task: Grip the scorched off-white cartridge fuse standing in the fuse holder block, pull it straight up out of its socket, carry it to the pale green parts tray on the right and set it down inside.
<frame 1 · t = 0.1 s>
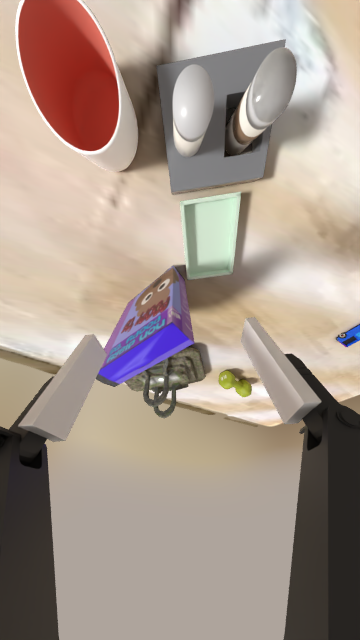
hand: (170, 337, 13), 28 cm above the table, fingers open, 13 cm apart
fuse holder block: (212, 140, 24), on the table
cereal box: (155, 291, 40), on the table
metal base with loops: (162, 365, 62), on the table
toy car: (353, 329, 52), on the table
blown fuse: (236, 136, 24), resting in fuse holder block
dumbbell: (232, 376, 68), on the table
cup: (109, 130, 23), on the table
parts tray: (207, 240, 33), on the table
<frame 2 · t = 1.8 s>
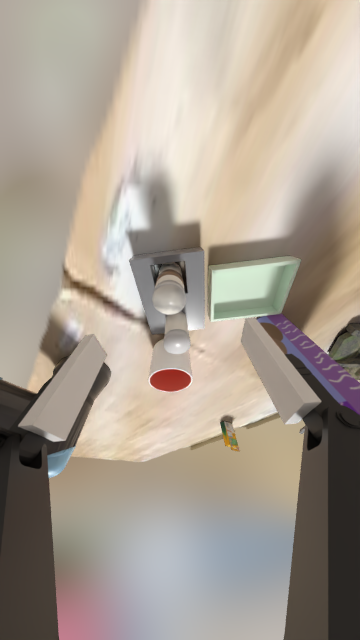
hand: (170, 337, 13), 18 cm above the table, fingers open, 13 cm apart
fuse holder block: (173, 292, 30), on the table
crayon box: (225, 422, 77), on the table
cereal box: (274, 333, 39), on the table
blown fuse: (170, 273, 27), resting in fuse holder block
cup: (171, 347, 40), on the table
parts tray: (243, 288, 30), on the table
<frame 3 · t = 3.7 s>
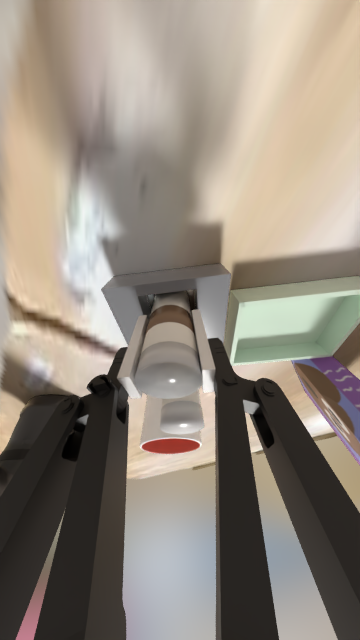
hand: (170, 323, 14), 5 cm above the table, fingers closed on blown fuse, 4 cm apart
fuse holder block: (175, 325, 20), on the table
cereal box: (309, 370, 29), on the table
blown fuse: (171, 301, 18), resting in fuse holder block, touching gripper
cup: (172, 385, 31), on the table
parts tray: (278, 319, 20), on the table
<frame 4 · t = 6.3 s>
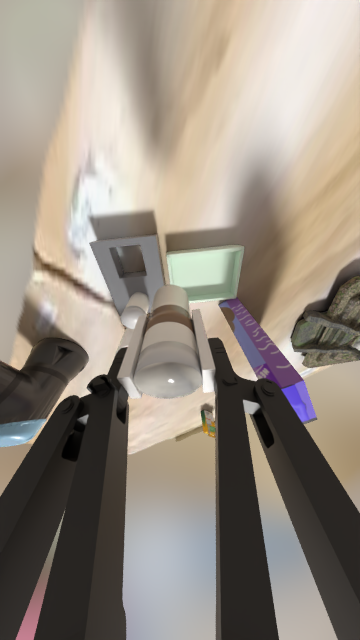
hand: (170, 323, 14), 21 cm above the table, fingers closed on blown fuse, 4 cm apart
fuse holder block: (138, 276, 33), on the table
crayon box: (206, 411, 81), on the table
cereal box: (238, 320, 42), on the table
metal base with loops: (346, 320, 44), on the table
blown fuse: (171, 300, 18), point 17 cm above the table, touching gripper
cup: (143, 332, 43), on the table
parts tray: (202, 274, 33), on the table
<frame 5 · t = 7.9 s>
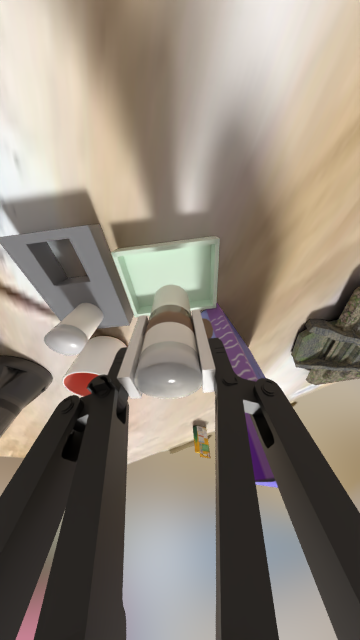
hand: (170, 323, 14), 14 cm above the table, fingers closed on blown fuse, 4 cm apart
fuse holder block: (87, 282, 25), on the table
crayon box: (199, 426, 73), on the table
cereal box: (225, 332, 34), on the table
blown fuse: (171, 300, 18), point 9 cm above the table, touching gripper
cup: (110, 347, 36), on the table
parts tray: (170, 277, 25), on the table
when the fingers open (7 cm above the table, at t = 9.2 s): blown fuse drops 1 cm, resting on parts tray.
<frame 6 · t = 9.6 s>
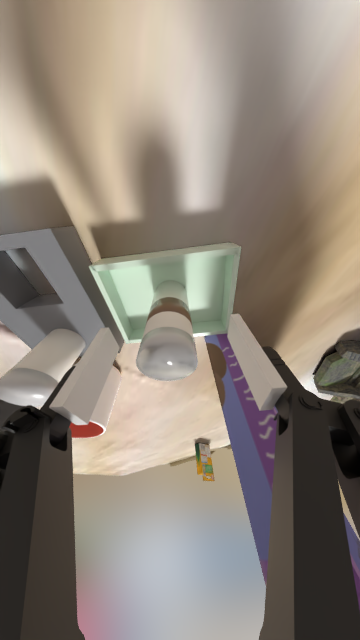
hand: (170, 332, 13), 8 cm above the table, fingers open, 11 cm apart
fuse holder block: (64, 300, 20), on the table
crayon box: (202, 443, 67), on the table
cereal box: (236, 354, 28), on the table
blown fuse: (170, 295, 19), point 1 cm above the table, touching parts tray
cup: (99, 370, 30), on the table
parts tray: (171, 294, 20), on the table
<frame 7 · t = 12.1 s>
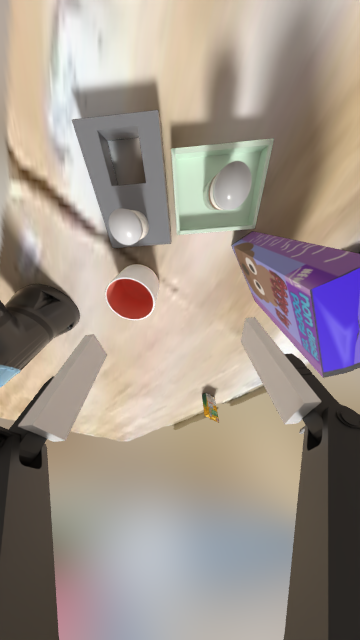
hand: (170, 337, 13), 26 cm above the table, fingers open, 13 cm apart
fuse holder block: (135, 195, 27), on the table
crayon box: (208, 395, 74), on the table
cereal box: (253, 270, 35), on the table
blown fuse: (214, 195, 26), point 1 cm above the table, touching parts tray
cup: (141, 282, 37), on the table
parts tray: (214, 195, 27), on the table
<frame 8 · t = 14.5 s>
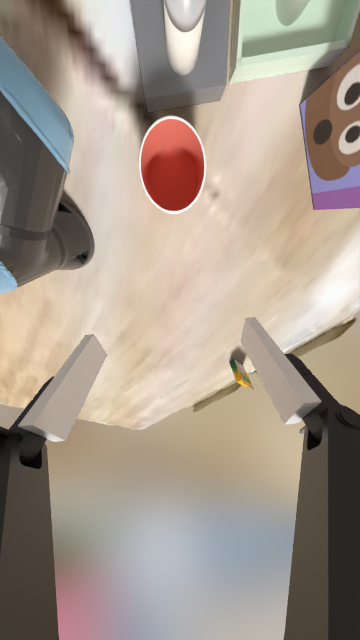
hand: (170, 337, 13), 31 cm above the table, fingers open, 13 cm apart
fuse holder block: (178, 3, 19), on the table
crayon box: (235, 363, 66), on the table
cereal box: (320, 155, 27), on the table
cup: (173, 183, 29), on the table
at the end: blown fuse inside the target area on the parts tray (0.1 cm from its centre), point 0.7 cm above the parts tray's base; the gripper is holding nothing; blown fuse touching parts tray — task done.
